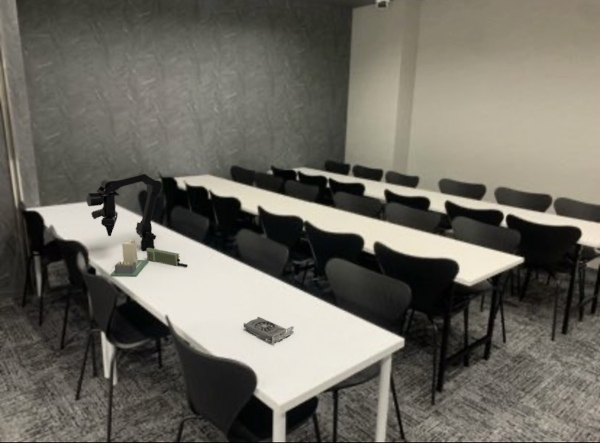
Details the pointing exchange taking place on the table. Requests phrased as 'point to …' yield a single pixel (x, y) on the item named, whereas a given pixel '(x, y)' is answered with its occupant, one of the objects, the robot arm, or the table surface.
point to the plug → (130, 252)
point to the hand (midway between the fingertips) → (110, 233)
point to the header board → (129, 268)
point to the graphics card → (268, 330)
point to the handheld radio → (164, 257)
